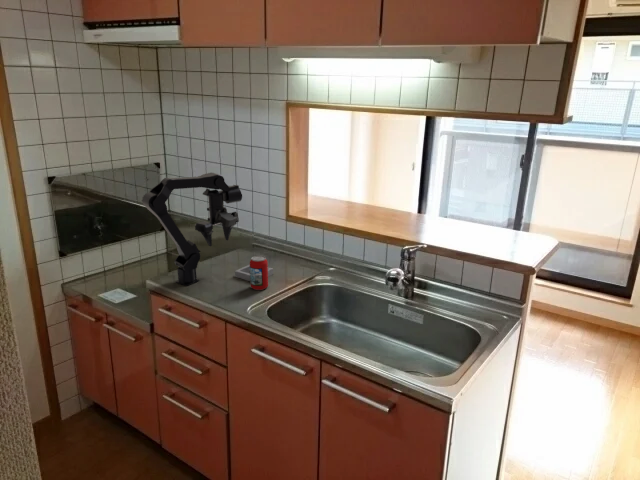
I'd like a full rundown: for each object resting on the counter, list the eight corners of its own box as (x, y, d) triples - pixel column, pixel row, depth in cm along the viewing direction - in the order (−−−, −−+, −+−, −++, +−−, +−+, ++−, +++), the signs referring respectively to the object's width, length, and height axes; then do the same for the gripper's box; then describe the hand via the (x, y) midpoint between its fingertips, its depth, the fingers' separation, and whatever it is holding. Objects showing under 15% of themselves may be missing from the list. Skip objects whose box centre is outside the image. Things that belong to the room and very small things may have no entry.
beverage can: (246, 287, 190) (245, 258, 187) (260, 282, 195) (259, 253, 192) (258, 292, 186) (257, 262, 182) (272, 287, 191) (271, 257, 187)
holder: (255, 282, 195) (255, 276, 194) (235, 276, 201) (234, 270, 200) (273, 274, 204) (273, 268, 203) (253, 268, 209) (253, 263, 209)
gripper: (213, 213, 184) (216, 253, 189) (247, 203, 199) (249, 240, 204) (192, 209, 190) (195, 247, 195) (227, 199, 205) (229, 236, 210)
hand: (218, 243), depth 201 cm, fingers open, 9 cm apart
